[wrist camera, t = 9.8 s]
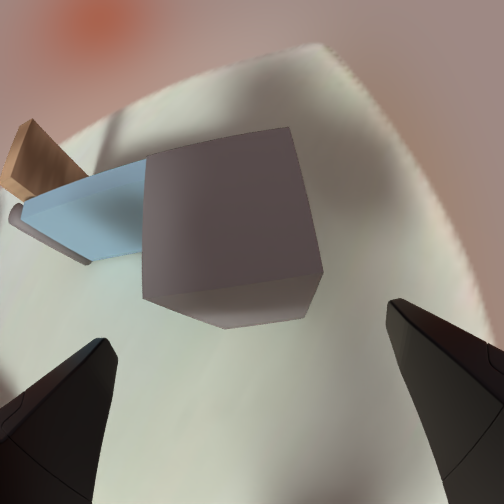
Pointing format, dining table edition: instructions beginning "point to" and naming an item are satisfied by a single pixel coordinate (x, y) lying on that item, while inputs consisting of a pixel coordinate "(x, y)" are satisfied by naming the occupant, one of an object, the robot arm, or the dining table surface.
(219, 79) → the dining table surface
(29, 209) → the gate
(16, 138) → the brown wooden block
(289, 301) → the block
